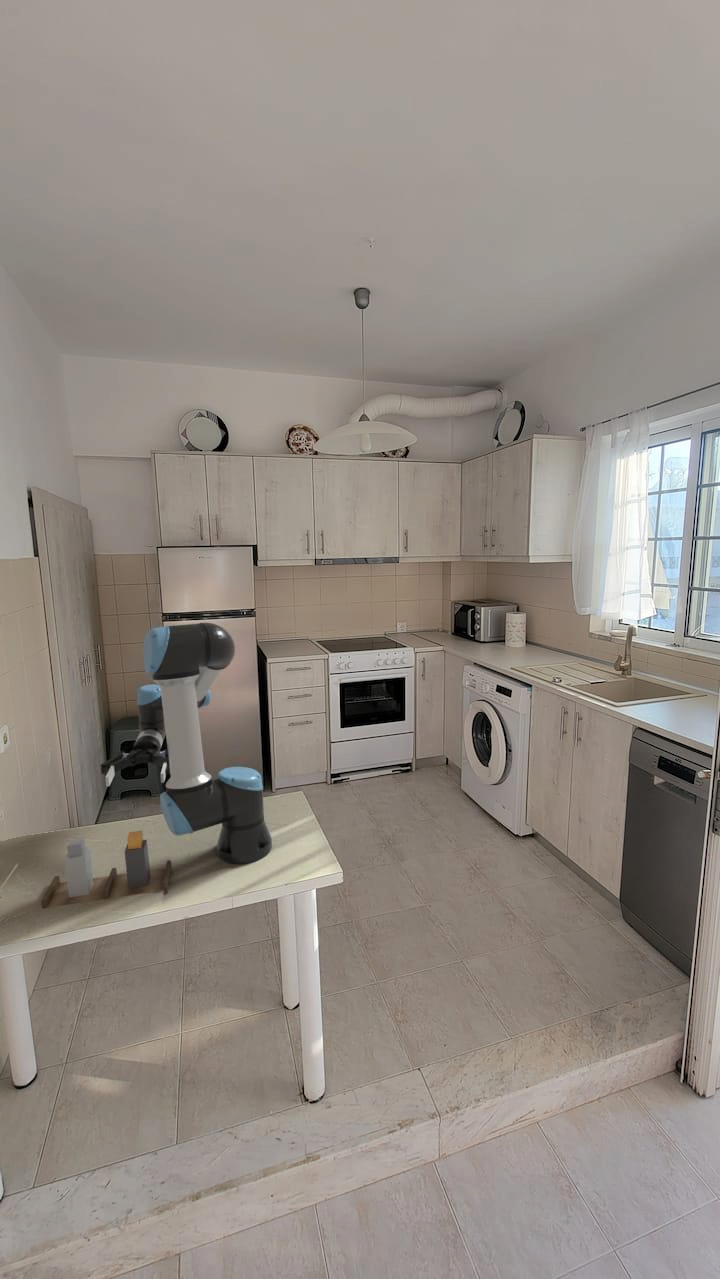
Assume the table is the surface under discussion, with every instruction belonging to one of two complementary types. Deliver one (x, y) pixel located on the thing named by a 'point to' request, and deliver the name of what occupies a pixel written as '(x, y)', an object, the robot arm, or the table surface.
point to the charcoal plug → (137, 860)
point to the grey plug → (78, 868)
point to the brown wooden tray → (107, 887)
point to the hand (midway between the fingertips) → (135, 780)
